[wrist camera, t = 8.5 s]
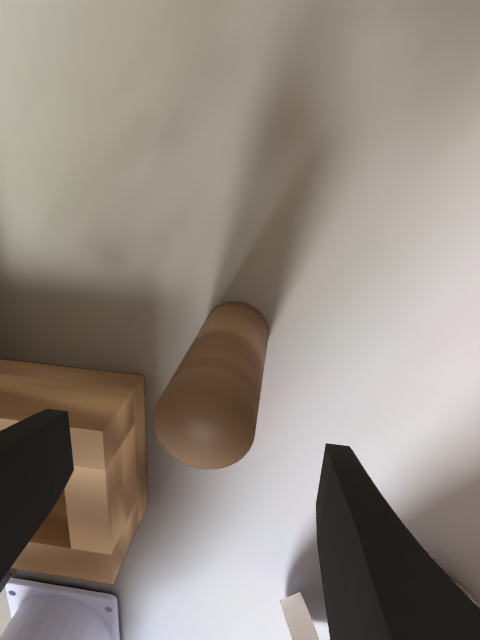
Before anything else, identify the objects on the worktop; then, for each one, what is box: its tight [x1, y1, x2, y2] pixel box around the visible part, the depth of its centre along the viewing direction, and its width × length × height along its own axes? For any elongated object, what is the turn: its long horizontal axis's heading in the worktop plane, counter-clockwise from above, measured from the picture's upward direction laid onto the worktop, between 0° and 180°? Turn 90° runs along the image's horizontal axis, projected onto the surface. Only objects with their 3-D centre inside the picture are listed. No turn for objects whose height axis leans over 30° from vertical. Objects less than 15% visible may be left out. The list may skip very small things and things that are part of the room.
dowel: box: [153, 302, 268, 469], centre depth 16 cm, size 3×3×8 cm
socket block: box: [0, 359, 147, 584], centre depth 21 cm, size 9×9×5 cm
